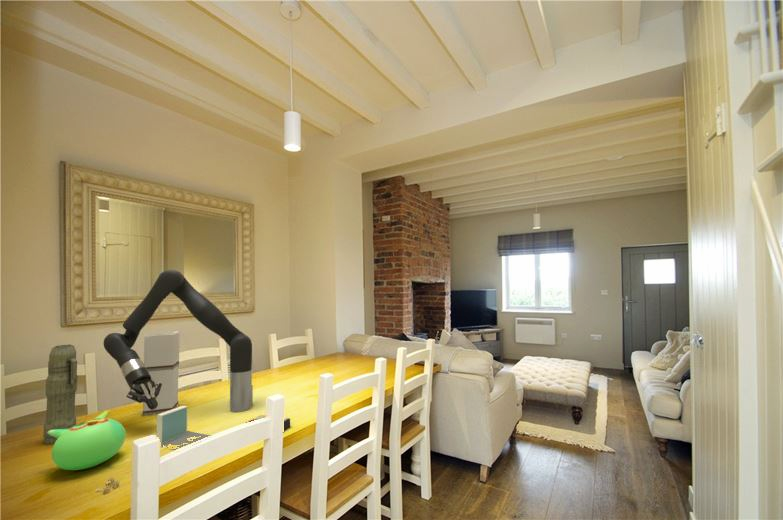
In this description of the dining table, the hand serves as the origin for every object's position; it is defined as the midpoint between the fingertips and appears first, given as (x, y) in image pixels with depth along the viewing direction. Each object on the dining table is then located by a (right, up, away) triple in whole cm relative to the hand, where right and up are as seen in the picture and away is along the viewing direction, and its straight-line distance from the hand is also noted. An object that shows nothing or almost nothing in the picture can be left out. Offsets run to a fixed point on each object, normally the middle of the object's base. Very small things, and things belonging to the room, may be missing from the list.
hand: (154, 407), depth 135 cm
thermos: (-34, -11, -3) cm, 36 cm away
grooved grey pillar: (-15, -13, +27) cm, 33 cm away
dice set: (+11, -8, -36) cm, 39 cm away
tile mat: (+14, -9, -7) cm, 18 cm away
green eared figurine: (-6, -9, -23) cm, 25 cm away
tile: (+10, -9, -5) cm, 14 cm away
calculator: (+42, -10, +2) cm, 43 cm away
